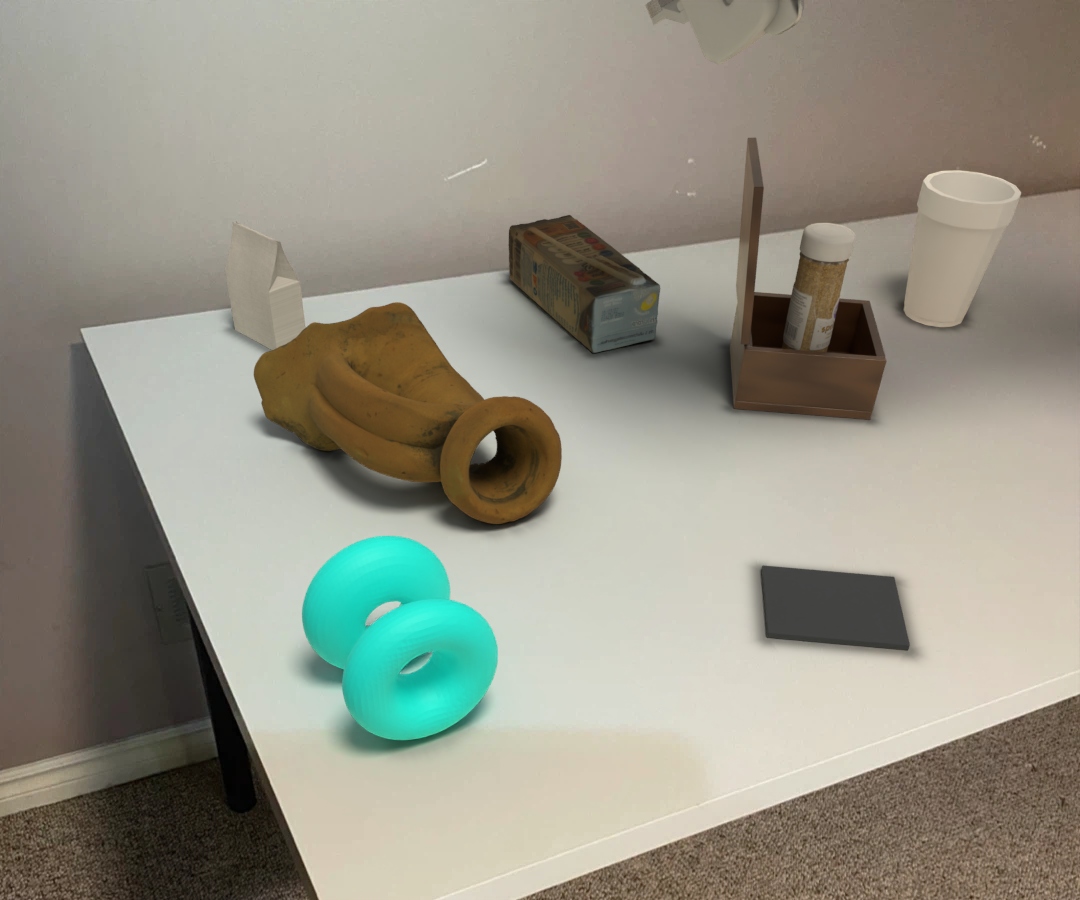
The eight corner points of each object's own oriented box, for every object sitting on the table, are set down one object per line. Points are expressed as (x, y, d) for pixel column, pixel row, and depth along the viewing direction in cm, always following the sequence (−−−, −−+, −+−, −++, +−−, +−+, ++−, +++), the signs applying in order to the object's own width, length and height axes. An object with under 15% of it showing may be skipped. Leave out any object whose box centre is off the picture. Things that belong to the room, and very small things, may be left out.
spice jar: (825, 387, 101) (860, 241, 92) (777, 384, 102) (807, 238, 92) (818, 364, 105) (852, 221, 95) (772, 361, 105) (800, 219, 95)
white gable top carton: (277, 352, 104) (262, 248, 97) (235, 330, 107) (217, 226, 100) (307, 340, 106) (294, 237, 99) (265, 318, 109) (249, 216, 102)
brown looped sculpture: (466, 304, 96) (593, 371, 80) (439, 445, 102) (552, 533, 86) (263, 269, 86) (363, 337, 71) (246, 427, 92) (335, 523, 76)
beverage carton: (589, 356, 106) (593, 290, 101) (504, 281, 118) (505, 219, 113) (657, 342, 109) (665, 277, 104) (568, 270, 120) (571, 209, 116)
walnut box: (855, 357, 108) (869, 300, 104) (870, 419, 99) (886, 360, 95) (729, 347, 108) (739, 290, 104) (733, 409, 100) (744, 349, 95)
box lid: (756, 137, 95) (747, 137, 95) (763, 186, 86) (753, 187, 86) (744, 285, 104) (735, 286, 104) (749, 344, 95) (740, 344, 95)
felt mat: (892, 581, 82) (894, 576, 81) (908, 650, 76) (910, 645, 76) (761, 570, 82) (762, 565, 82) (766, 637, 76) (767, 632, 76)
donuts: (440, 629, 76) (436, 510, 69) (505, 719, 70) (507, 598, 62) (305, 671, 72) (285, 550, 65) (360, 770, 66) (345, 647, 59)
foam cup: (927, 288, 120) (964, 164, 111) (995, 319, 115) (1040, 192, 106) (871, 308, 116) (904, 180, 107) (939, 341, 111) (980, 210, 102)
